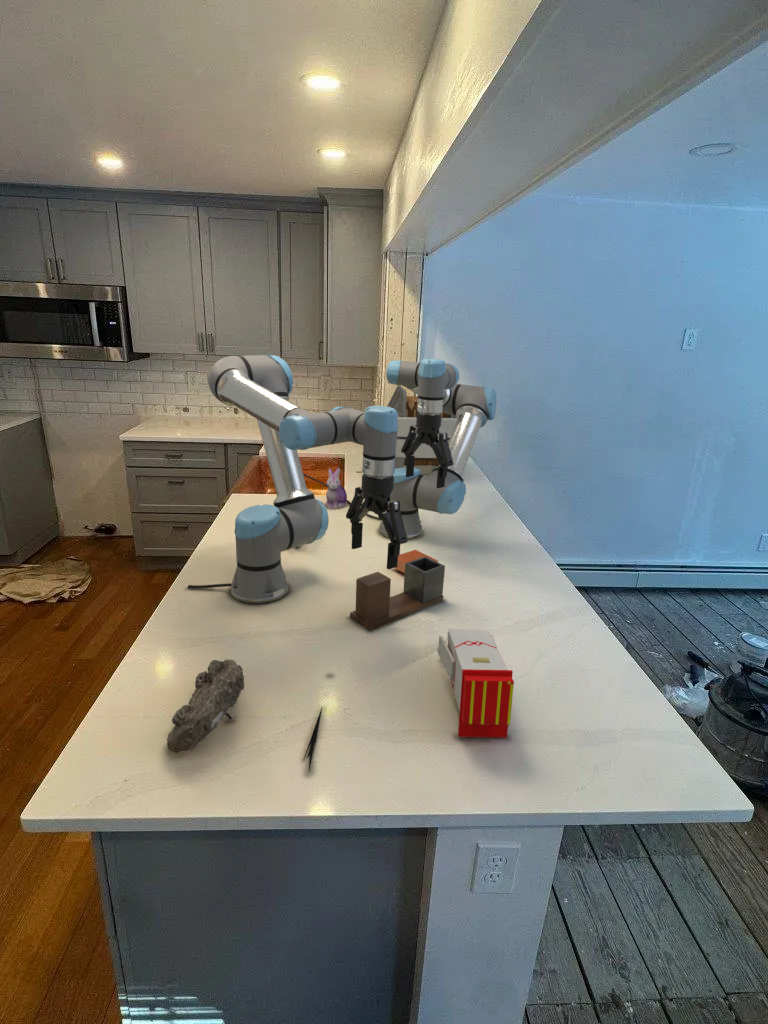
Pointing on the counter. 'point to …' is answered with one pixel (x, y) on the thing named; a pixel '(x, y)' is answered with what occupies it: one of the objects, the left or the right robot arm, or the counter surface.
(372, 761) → the counter surface
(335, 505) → the figurine
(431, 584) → the brown wooden desk organizer
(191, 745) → the fossil
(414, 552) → the glossy orange tile
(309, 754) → the feather
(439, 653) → the toy
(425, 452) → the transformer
